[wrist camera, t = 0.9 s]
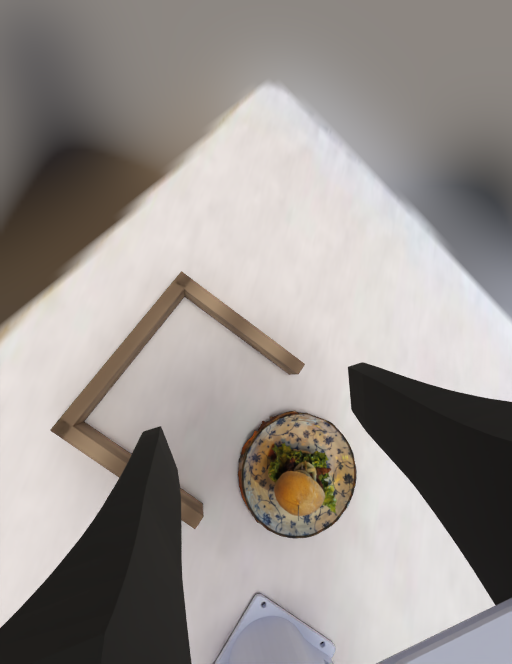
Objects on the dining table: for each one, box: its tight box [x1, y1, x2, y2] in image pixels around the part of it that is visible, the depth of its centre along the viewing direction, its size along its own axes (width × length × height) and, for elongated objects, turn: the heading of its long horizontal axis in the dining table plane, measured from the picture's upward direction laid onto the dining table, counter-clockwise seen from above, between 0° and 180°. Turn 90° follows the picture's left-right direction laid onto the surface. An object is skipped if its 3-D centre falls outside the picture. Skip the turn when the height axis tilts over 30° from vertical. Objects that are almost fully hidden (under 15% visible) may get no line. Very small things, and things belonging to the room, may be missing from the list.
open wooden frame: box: [50, 271, 305, 529], centre depth 31 cm, size 15×17×3 cm
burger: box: [238, 411, 356, 538], centre depth 30 cm, size 12×12×8 cm
